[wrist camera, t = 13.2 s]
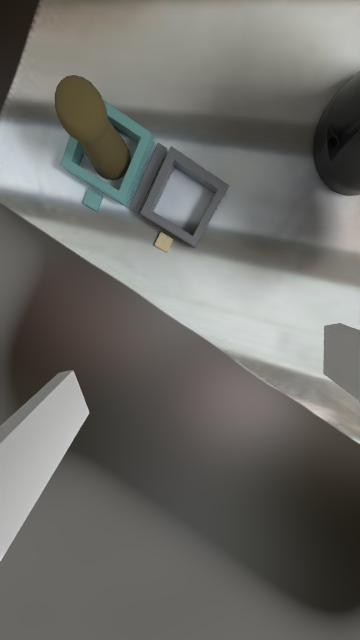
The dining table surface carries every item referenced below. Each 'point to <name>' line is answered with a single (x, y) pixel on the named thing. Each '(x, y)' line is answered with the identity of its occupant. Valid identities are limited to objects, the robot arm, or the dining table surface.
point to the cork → (91, 126)
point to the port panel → (146, 179)
